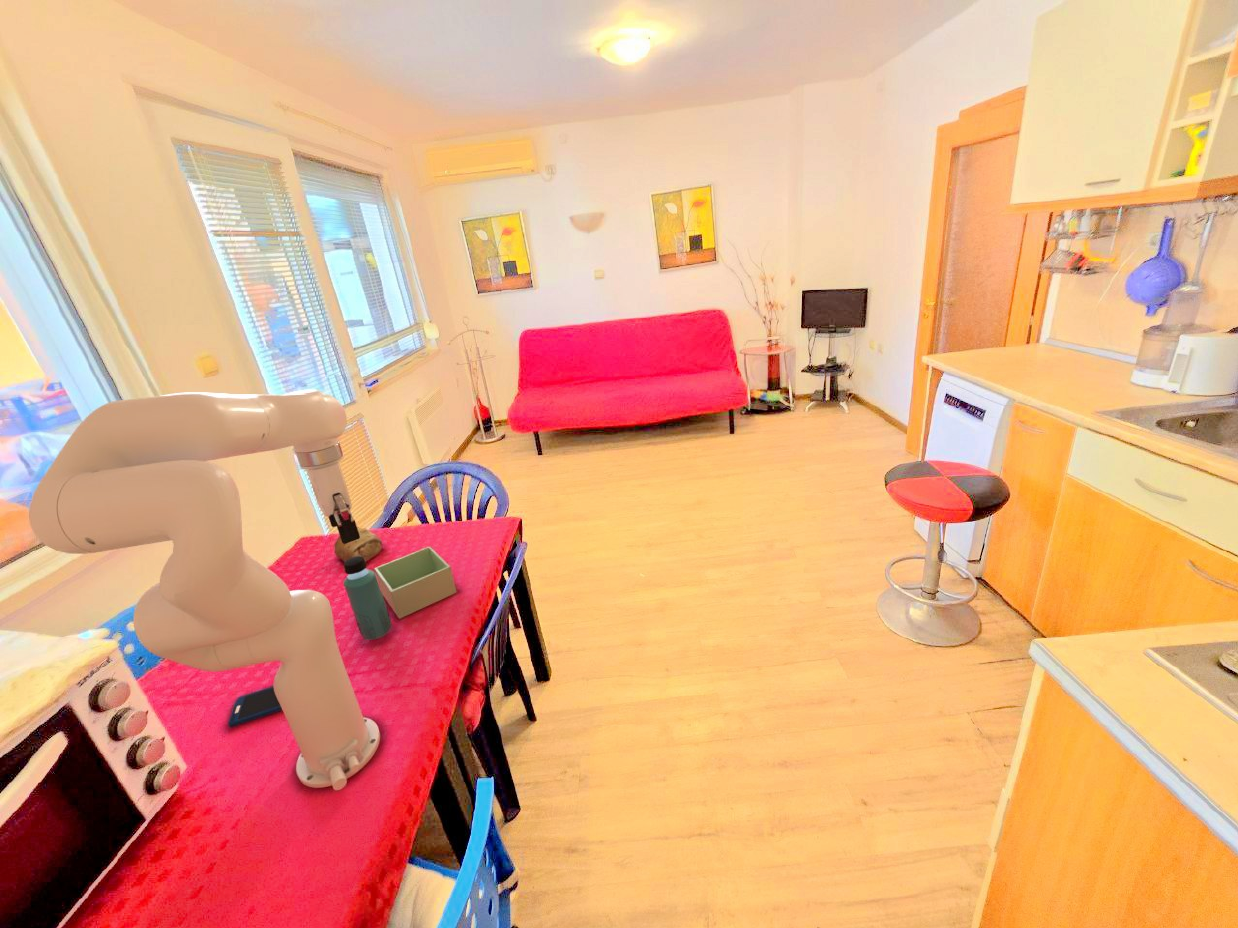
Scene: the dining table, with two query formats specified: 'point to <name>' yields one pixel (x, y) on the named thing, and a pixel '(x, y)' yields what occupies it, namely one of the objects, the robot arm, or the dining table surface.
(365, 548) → the pastry
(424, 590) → the bin
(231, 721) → the cell phone
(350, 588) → the beverage bottle
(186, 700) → the dining table surface
